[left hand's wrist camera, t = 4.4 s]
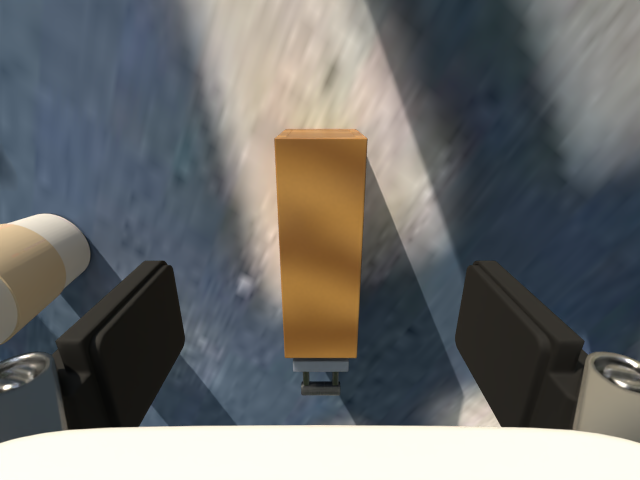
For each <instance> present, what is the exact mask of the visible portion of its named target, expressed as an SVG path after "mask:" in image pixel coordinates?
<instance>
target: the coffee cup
mask: <svg viewBox="0 0 640 480" xmlns="http://www.w3.org/2000/svg"><path fill="white" fill-rule="evenodd" d="M89 261H90V248H89V245H88V242H87V240H86V238H85V236H84V235H83V234H82V232H81V231H80V230H79V229H78V228H77V227H76V226H75V225H74V224H72V223H71V222H69V221H68V220H66V219H64V218H62V217H59V216H56V215H52V214H38V215H35V216H31V217H28V218H25V219H21V220H18V221H15V222H11V223H8V224H0V345H1V344H3V343H5V342H7V341H8V340H9V339H10V338H12V337H13V336H14V335H15V334H16V333H17V332H18V331H19V330H21V329H22V328H23V327H24V326H25V325H26V324H27V323H28V322H29V321H31V320H32V319H33V318H34V317H35V316H36V315H37V314H38V313H40V312H41V311H42V310H43V309H44V308H45V307H46V306H47V305H48V304H50V303H51V302H52V301H53V300H54V299H55V298H56V297H57V296H59V295H60V293H61V292H62V290H63V289H64V288H65V287H66V286H67V285H69V284H70V283H71V282H72V281H73V280H74V279H75V278H77V277H78V276H79V275H80V274H81V273H82V272H83V271H84V270H85V269H86V268H87V266H88V264H89Z"/></svg>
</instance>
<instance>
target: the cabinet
mask: <svg viewBox="0 0 640 480" xmlns="http://www.w3.org/2000/svg"><path fill="white" fill-rule="evenodd" d="M274 141H275V162H276V183H277V203H278V224H279V245H280V266H281V287H282V307H283V328H284V349H285V358H357V343H358V323H359V302H360V281H361V261H362V240H363V220H364V199H365V178H366V158H367V138H366V137H365V136H364V135H362V134H361V133H360V132H359V131H357V130H356V129H286V130H284V131H283V132H282V133H281V134H280V135H278V136H277V137H276V138H275V139H274Z"/></svg>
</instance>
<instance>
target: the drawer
mask: <svg viewBox="0 0 640 480" xmlns="http://www.w3.org/2000/svg"><path fill="white" fill-rule="evenodd" d="M348 366H349V360H348V358H293V371H294V372H303V381H302V384H301V394H302V395H340V382H339V381H338V375H339V372H348ZM309 372H332V381H309Z"/></svg>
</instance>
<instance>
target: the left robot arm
mask: <svg viewBox="0 0 640 480" xmlns="http://www.w3.org/2000/svg"><path fill="white" fill-rule="evenodd" d="M184 342H185V335H184V329H183V323H182V317H181V312H180V306H179V300H178V295H177V289H176V283H175V277H174V272H173V268H172V266H171V265H167V263H166V262H165V261H144V262H143V263H142V264H141V265H139V266H138V267H137V268H136V269H135V270H134V271H133V272H132V273H131V274H129V275H128V276H127V277H126V278H125V279H124V280H123V281H122V282H121V283H119V284H118V285H117V286H116V287H115V288H114V289H113V290H112V291H111V292H109V293H108V294H107V295H106V296H105V297H104V298H103V299H102V300H101V301H99V302H98V303H97V304H96V305H95V306H94V307H93V308H92V309H91V310H89V311H88V312H87V313H86V314H85V315H84V316H83V317H82V318H81V319H79V320H78V321H77V322H76V323H75V324H74V325H73V326H72V327H71V328H69V329H68V330H67V331H66V332H65V333H64V334H63V335H62V336H61V337H59V338H58V339H57V340H56V344H57V347H58V350H57V351H56V352H54V353H53V354H52V355H51V354H48V353H46V352H30V353H24V354H20V355H17V356H13V357H11V358H8V359H6V360H3V361H1V362H0V480H640V362H639V361H637V360H634V359H632V358H629V357H627V356H623V355H620V354H616V353H610V352H594V353H592V354H589V355H588V354H587V353H586V352H584V351H583V350H582V347H583V344H584V340H583V339H582V338H581V337H579V336H578V335H577V334H576V333H575V332H574V331H573V330H572V329H571V328H569V327H568V326H567V325H566V324H565V323H564V322H563V321H562V320H561V319H559V318H558V317H557V316H556V315H555V314H554V313H553V312H552V311H551V310H549V309H548V308H547V307H546V306H545V305H544V304H543V303H542V302H541V301H539V300H538V299H537V298H536V297H535V296H534V295H533V294H532V293H531V292H529V291H528V290H527V289H526V288H525V287H524V286H523V285H522V284H521V283H519V282H518V281H517V280H516V279H515V278H514V277H513V276H512V275H511V274H509V273H508V272H507V271H506V270H505V269H504V268H503V267H502V266H501V265H499V264H498V263H497V262H496V261H475V262H474V263H473V265H469V266H468V268H467V272H466V277H465V283H464V289H463V295H462V300H461V306H460V312H459V317H458V323H457V329H456V335H455V342H456V346H457V348H458V350H459V352H460V354H461V356H462V357H463V359H464V361H465V363H466V365H467V366H468V368H469V370H470V372H471V374H472V375H473V377H474V379H475V381H476V382H477V384H478V386H479V388H480V390H481V391H482V393H483V395H484V397H485V399H486V400H487V402H488V404H489V406H490V407H491V409H492V411H493V413H494V415H495V416H496V418H497V420H498V422H499V424H500V425H501V427H467V426H338V425H302V426H173V427H139V425H140V424H141V422H142V420H143V418H144V416H145V415H146V413H147V411H148V409H149V407H150V406H151V404H152V402H153V400H154V399H155V397H156V395H157V393H158V391H159V390H160V388H161V386H162V384H163V382H164V381H165V379H166V377H167V375H168V374H169V372H170V370H171V368H172V366H173V365H174V363H175V361H176V359H177V357H178V356H179V354H180V352H181V350H182V348H183V346H184Z"/></svg>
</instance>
